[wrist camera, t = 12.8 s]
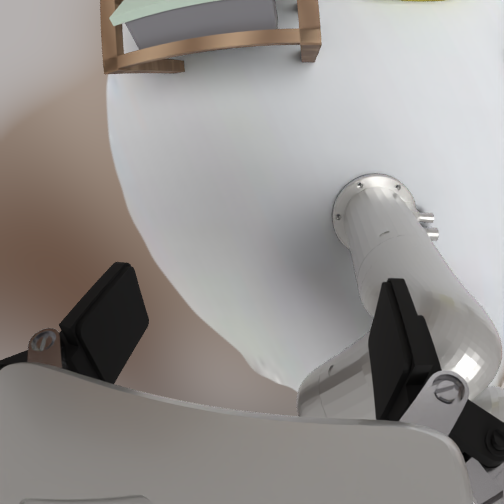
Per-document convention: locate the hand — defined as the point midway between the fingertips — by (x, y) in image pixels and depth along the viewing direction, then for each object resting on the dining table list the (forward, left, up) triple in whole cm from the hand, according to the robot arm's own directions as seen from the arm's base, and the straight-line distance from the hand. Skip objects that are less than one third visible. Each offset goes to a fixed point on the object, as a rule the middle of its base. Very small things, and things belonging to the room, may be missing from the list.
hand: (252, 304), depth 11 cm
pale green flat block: (+6, -17, -23) cm, 30 cm away
